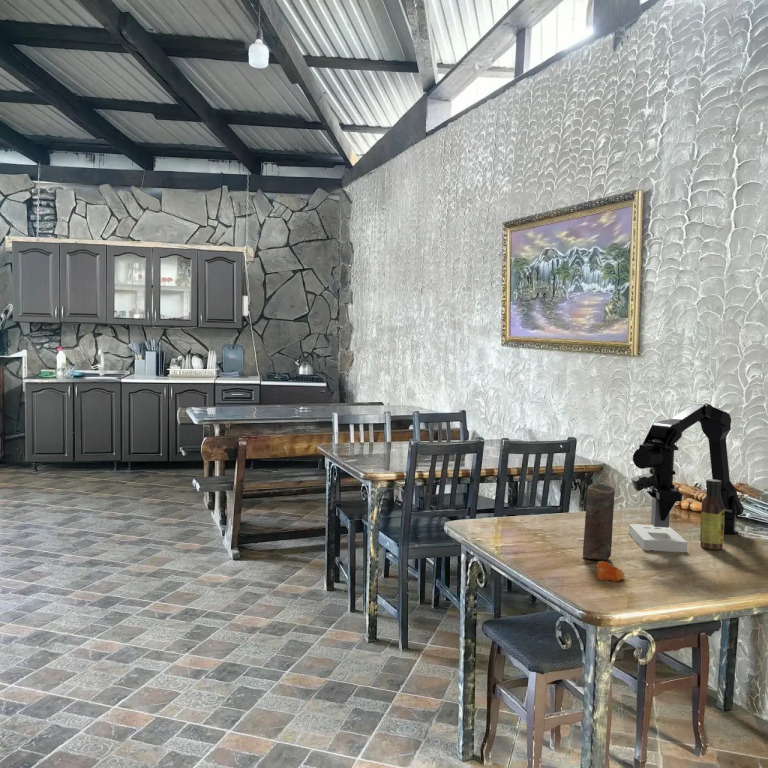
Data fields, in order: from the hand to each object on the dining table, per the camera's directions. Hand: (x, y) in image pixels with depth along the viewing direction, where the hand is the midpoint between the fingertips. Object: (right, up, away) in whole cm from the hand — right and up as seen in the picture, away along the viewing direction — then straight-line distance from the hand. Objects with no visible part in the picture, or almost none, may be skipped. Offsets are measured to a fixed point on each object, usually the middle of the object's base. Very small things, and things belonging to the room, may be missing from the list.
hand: (660, 518), depth 206 cm
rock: (-25, -10, -30) cm, 40 cm away
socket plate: (0, -8, +3) cm, 9 cm away
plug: (0, -2, 0) cm, 2 cm away
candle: (-23, -8, -14) cm, 28 cm away
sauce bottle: (+15, -9, -1) cm, 17 cm away
